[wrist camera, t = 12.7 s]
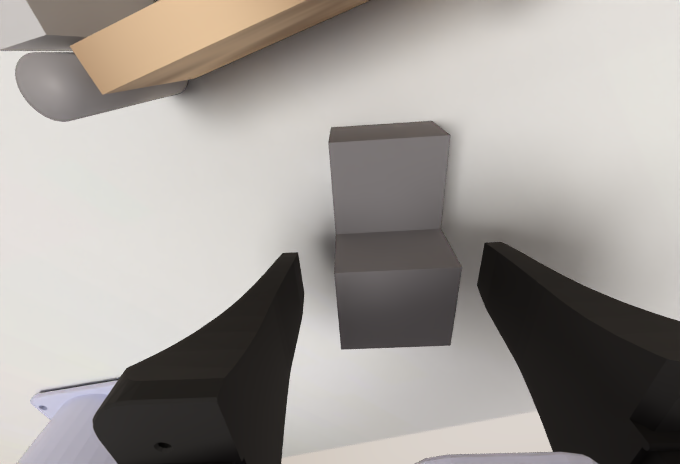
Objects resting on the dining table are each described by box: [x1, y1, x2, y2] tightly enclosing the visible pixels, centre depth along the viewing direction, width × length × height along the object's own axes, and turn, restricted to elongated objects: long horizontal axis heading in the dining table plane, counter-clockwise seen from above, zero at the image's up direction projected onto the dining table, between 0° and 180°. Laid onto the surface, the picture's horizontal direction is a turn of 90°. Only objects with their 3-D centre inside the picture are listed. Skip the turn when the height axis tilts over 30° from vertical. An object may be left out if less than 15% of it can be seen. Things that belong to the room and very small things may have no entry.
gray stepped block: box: [329, 121, 462, 349], centre depth 12 cm, size 7×4×5 cm, turn 4°
